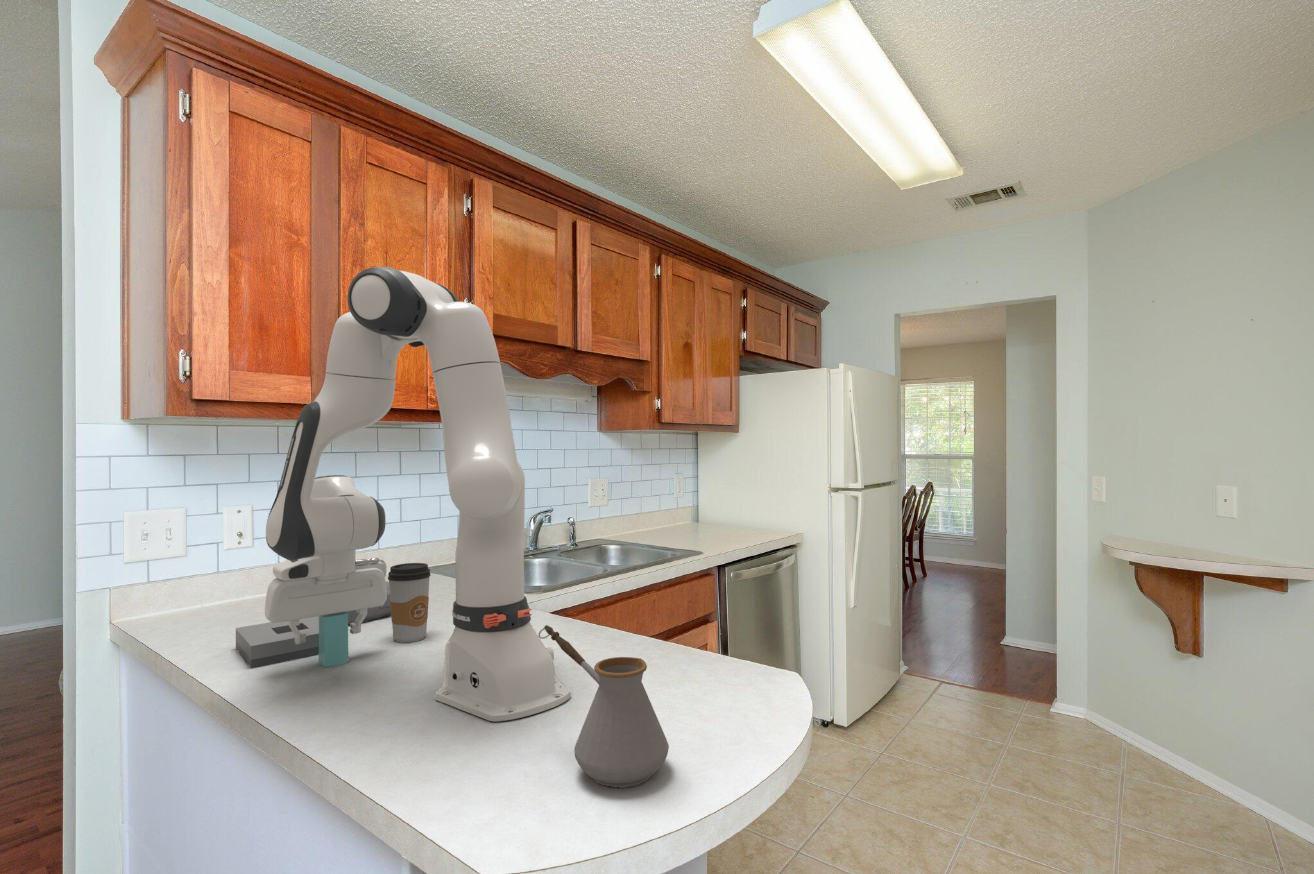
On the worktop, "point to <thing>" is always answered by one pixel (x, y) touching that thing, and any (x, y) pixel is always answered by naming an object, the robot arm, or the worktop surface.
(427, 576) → the coffee cup
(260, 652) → the socket
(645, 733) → the coffee pot
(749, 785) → the worktop surface
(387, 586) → the small grey backpack
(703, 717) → the worktop surface
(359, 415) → the robot arm
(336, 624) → the plug
